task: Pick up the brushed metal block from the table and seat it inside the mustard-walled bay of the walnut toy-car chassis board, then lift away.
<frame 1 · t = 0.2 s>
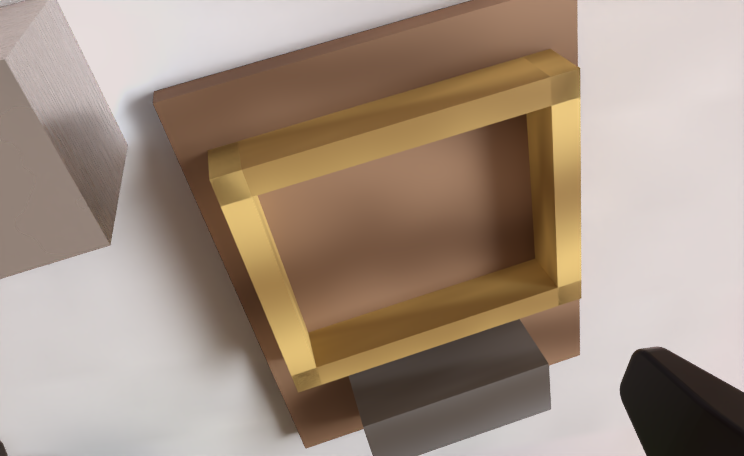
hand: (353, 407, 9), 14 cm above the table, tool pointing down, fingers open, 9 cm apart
chassis: (408, 244, 26), on the table
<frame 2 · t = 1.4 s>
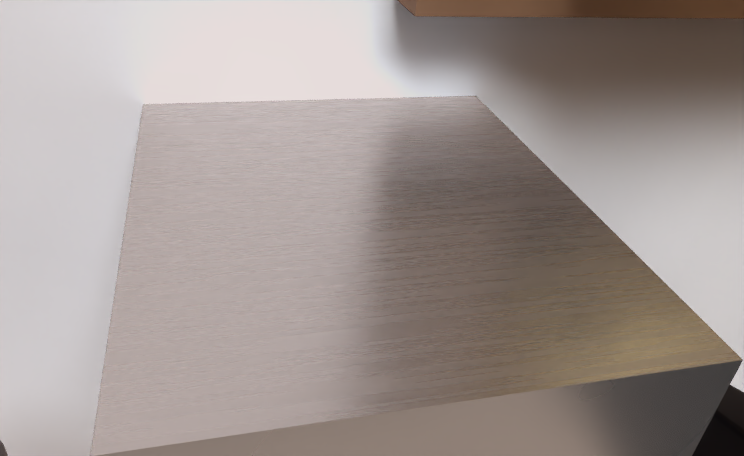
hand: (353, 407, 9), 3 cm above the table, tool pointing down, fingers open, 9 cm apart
brushed metal block: (314, 282, 11), on the table
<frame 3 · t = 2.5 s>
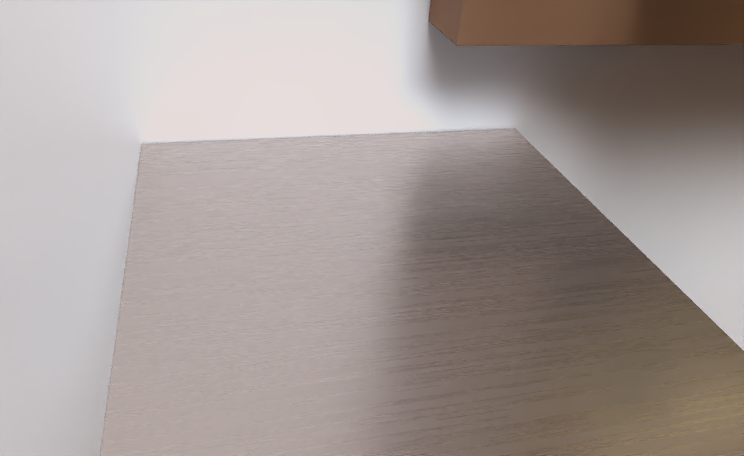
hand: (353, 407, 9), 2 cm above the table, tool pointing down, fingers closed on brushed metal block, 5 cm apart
brushed metal block: (332, 334, 10), on the table, touching gripper
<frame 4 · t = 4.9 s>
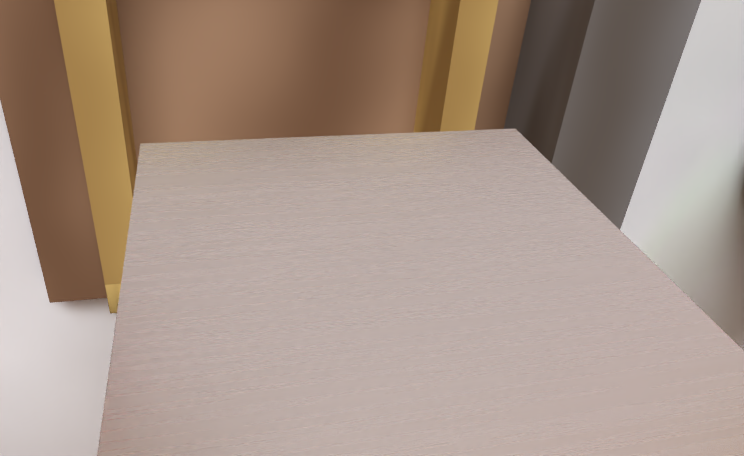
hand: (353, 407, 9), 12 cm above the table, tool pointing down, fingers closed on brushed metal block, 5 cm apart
brushed metal block: (332, 334, 10), point 10 cm above the table, touching gripper
chassis: (345, 66, 18), on the table
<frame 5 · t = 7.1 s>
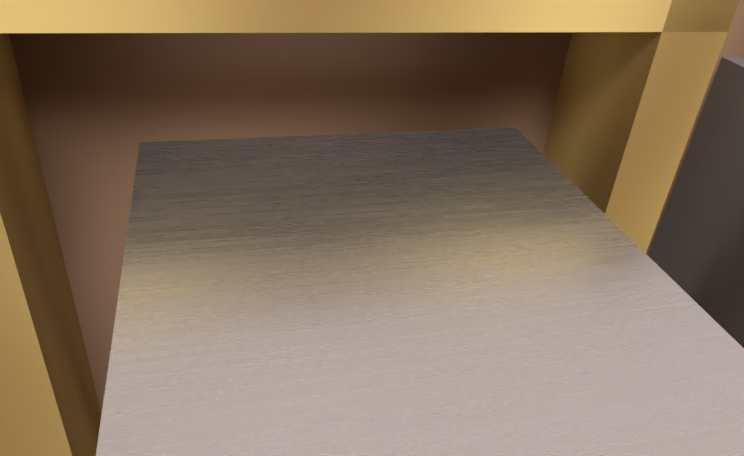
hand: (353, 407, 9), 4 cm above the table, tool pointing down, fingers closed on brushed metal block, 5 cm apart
brushed metal block: (332, 333, 10), point 2 cm above the table, touching gripper
chassis: (405, 240, 13), on the table
when the fingers open (4 cm above the table, at t = 7.3 s): brushed metal block drops 1 cm, resting on chassis.
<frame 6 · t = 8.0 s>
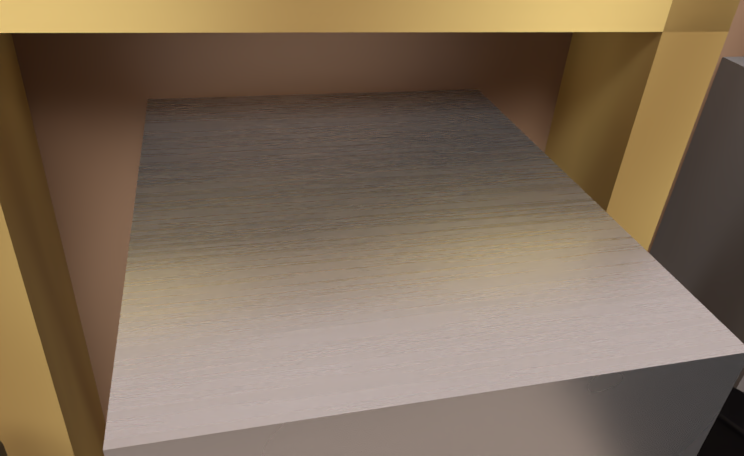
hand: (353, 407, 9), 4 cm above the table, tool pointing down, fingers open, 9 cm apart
brushed metal block: (319, 279, 11), point 1 cm above the table, touching chassis
chassis: (406, 240, 13), on the table
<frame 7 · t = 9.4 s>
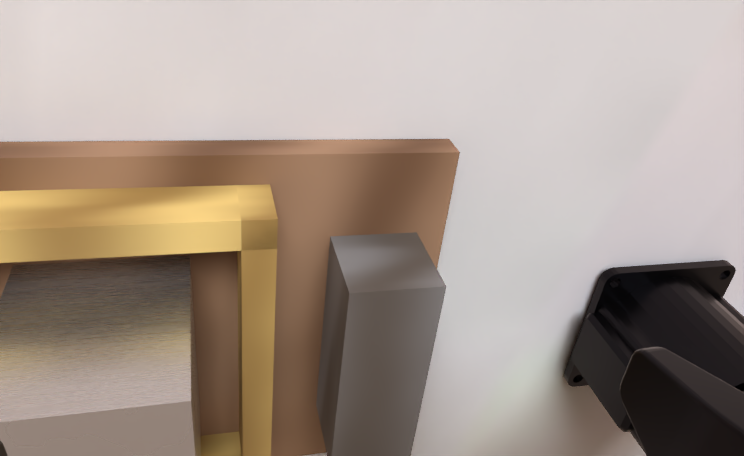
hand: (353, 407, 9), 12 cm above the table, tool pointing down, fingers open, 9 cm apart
brushed metal block: (117, 345, 21), point 1 cm above the table, touching chassis
chassis: (178, 321, 22), on the table
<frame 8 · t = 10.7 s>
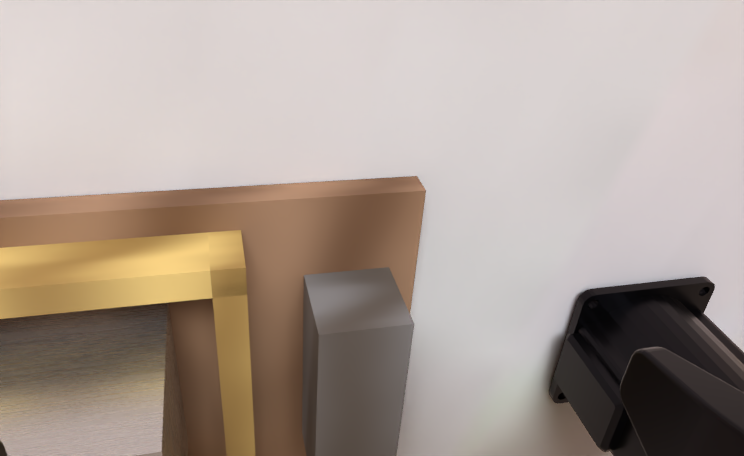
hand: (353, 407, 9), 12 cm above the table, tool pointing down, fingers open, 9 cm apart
brushed metal block: (103, 385, 22), point 1 cm above the table, touching chassis
chassis: (163, 358, 23), on the table
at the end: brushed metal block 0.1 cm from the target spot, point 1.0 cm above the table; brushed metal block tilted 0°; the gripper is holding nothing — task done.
